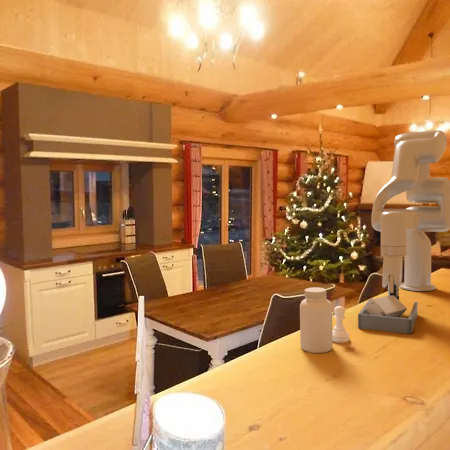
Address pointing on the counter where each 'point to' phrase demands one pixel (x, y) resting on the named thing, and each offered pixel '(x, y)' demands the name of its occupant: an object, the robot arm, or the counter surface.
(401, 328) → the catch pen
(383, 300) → the skincare box
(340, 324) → the chess pawn
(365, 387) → the counter surface
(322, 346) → the pill bottle
